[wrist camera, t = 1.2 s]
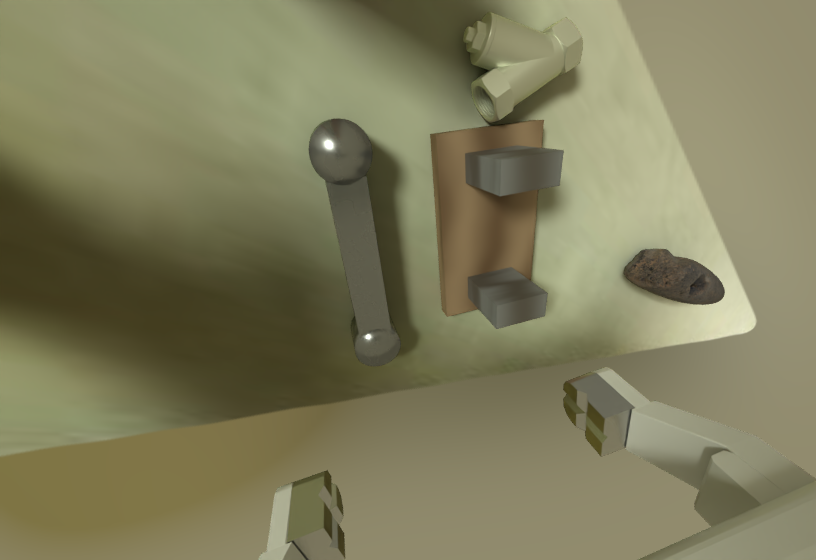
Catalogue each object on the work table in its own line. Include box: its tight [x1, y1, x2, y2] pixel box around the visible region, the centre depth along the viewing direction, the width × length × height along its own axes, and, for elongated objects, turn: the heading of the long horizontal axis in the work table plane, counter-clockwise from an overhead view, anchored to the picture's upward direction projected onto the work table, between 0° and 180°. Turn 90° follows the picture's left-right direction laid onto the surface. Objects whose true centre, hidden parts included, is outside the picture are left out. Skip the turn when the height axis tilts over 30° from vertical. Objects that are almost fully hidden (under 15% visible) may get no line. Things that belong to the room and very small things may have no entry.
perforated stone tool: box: [624, 249, 725, 305], centre depth 39 cm, size 15×5×7 cm, turn 67°
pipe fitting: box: [463, 12, 583, 122], centre depth 25 cm, size 8×4×7 cm
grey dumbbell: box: [309, 119, 401, 366], centre depth 28 cm, size 4×22×4 cm, turn 7°
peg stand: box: [430, 120, 564, 329], centre depth 29 cm, size 10×18×8 cm, turn 7°
